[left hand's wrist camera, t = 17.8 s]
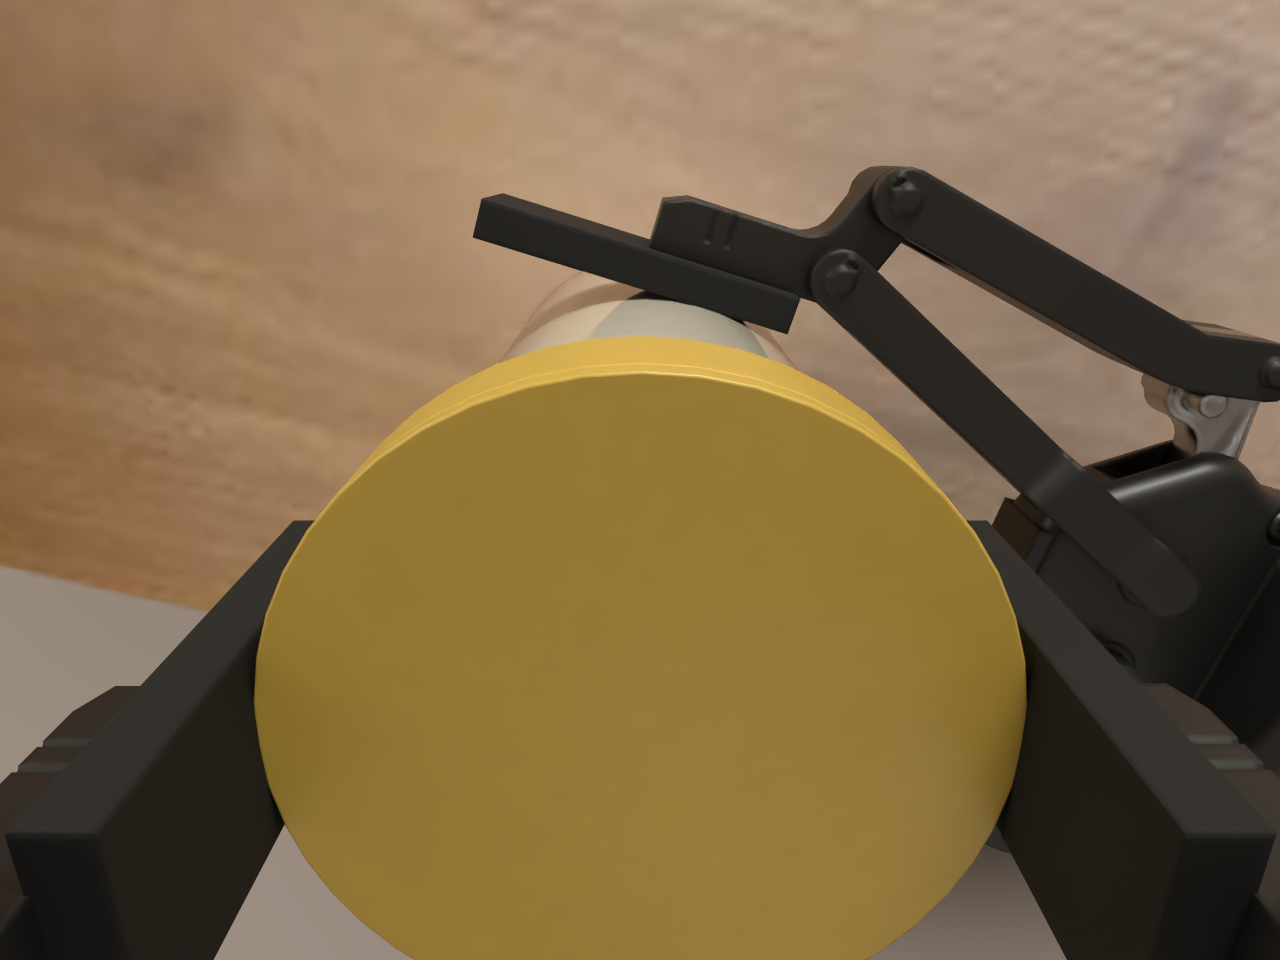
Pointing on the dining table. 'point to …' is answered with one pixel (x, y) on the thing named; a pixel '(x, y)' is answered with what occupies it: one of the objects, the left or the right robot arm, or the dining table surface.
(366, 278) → the dining table surface
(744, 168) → the dining table surface
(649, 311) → the jar
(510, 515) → the lid
